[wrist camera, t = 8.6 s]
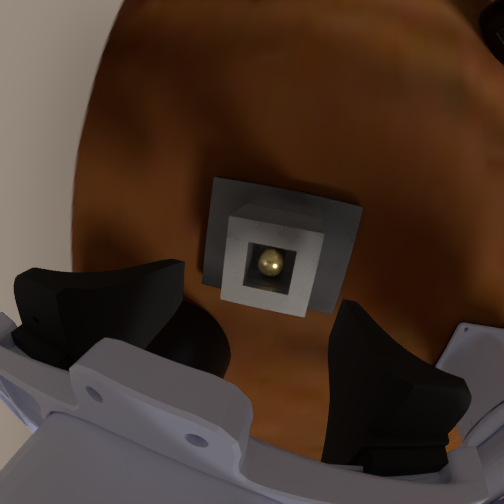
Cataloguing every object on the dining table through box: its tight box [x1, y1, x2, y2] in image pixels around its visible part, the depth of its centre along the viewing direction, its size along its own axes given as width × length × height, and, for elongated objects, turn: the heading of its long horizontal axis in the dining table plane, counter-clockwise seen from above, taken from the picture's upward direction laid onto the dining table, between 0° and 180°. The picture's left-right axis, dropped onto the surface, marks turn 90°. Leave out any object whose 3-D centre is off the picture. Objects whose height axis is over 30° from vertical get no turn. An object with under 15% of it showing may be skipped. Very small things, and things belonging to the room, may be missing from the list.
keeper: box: [202, 176, 363, 314], centre depth 18 cm, size 10×8×4 cm
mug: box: [145, 302, 231, 379], centre depth 20 cm, size 9×12×9 cm
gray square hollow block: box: [220, 204, 325, 317], centre depth 17 cm, size 5×5×4 cm
